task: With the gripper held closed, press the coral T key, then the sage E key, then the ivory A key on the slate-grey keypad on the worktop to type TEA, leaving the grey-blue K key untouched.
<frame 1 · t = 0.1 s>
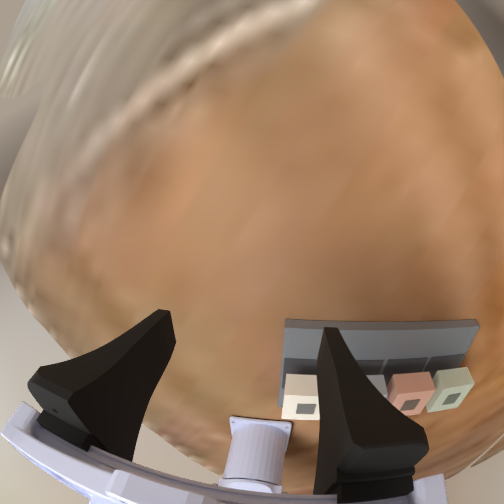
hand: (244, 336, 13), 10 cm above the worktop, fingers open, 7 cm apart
key E: (448, 390, 21), point 4 cm above the worktop, slide at 0.0 cm
keypad board: (377, 366, 26), on the worktop
key A: (306, 398, 23), point 4 cm above the worktop, slide at 0.0 cm
key K: (359, 398, 22), point 4 cm above the worktop, slide at 0.0 cm
key T: (407, 395, 21), point 4 cm above the worktop, slide at 0.0 cm
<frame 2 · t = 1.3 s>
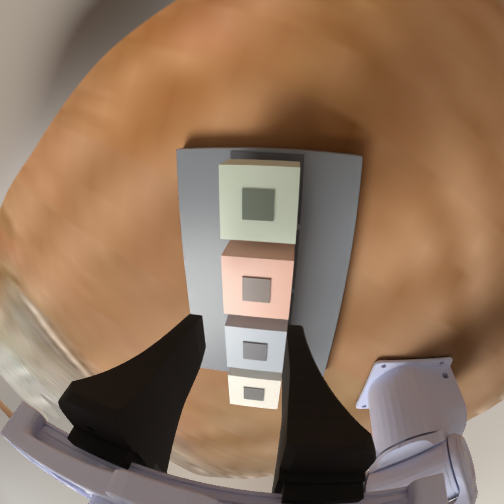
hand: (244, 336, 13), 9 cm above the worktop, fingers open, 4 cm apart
key E: (260, 199, 15), point 4 cm above the worktop, slide at 0.0 cm
keypad board: (264, 280, 22), on the worktop
key A: (255, 382, 22), point 4 cm above the worktop, slide at 0.0 cm
key K: (257, 339, 20), point 4 cm above the worktop, slide at 0.0 cm
key T: (258, 279, 17), point 4 cm above the worktop, slide at 0.0 cm
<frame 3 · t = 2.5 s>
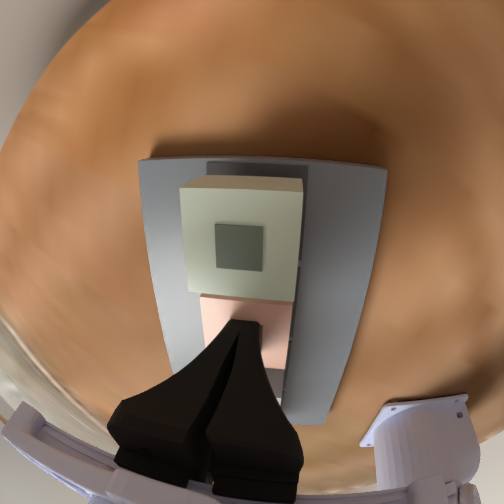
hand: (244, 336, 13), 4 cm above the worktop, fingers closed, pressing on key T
key E: (244, 234, 11), point 4 cm above the worktop, slide at 0.0 cm
keypad board: (256, 322, 18), on the worktop
key K: (245, 398, 15), point 4 cm above the worktop, slide at 0.0 cm
key T: (249, 321, 14), point 3 cm above the worktop, slide at 1.1 cm, touching gripper
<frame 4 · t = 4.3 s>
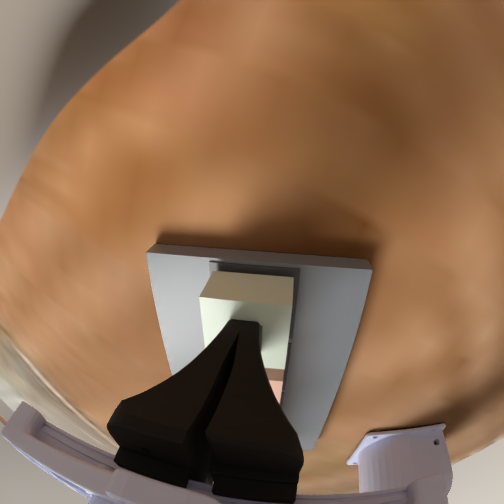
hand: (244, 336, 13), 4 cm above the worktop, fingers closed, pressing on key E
key E: (248, 321, 14), point 3 cm above the worktop, slide at 1.3 cm, touching gripper
keypad board: (254, 375, 20), on the worktop
key T: (248, 383, 16), point 3 cm above the worktop, slide at 1.3 cm
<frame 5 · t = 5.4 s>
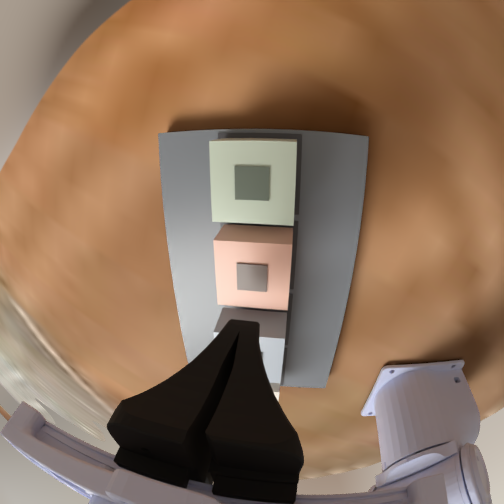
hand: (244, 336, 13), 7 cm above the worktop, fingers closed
key E: (255, 178, 14), point 3 cm above the worktop, slide at 1.3 cm
keypad board: (260, 279, 20), on the worktop
key A: (251, 393, 19), point 4 cm above the worktop, slide at 0.0 cm
key K: (251, 347, 17), point 4 cm above the worktop, slide at 0.0 cm
key T: (255, 267, 16), point 3 cm above the worktop, slide at 1.3 cm
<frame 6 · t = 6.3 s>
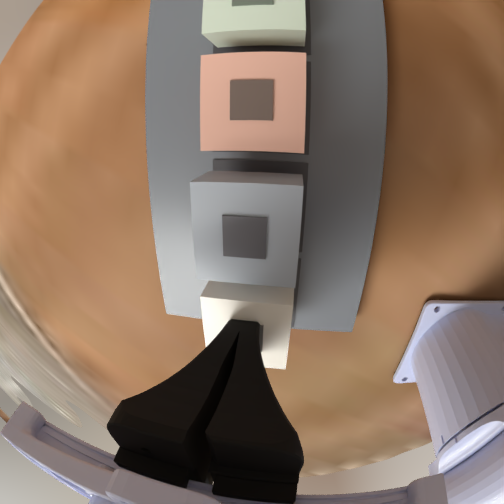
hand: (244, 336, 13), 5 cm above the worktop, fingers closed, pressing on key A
key E: (256, 0, 8), point 3 cm above the worktop, slide at 1.3 cm
keypad board: (262, 153, 14), on the worktop
key A: (249, 321, 14), point 4 cm above the worktop, slide at 0.2 cm, touching gripper
key K: (249, 226, 12), point 4 cm above the worktop, slide at 0.0 cm
key T: (255, 102, 11), point 3 cm above the worktop, slide at 1.3 cm
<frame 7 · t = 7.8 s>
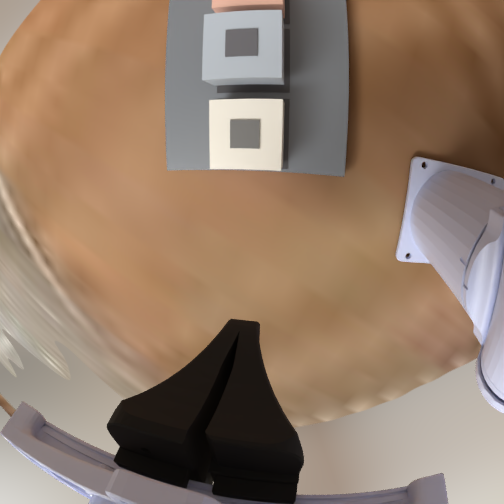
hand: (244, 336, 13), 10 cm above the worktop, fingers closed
keypad board: (256, 32, 15), on the worktop
key A: (248, 133, 16), point 3 cm above the worktop, slide at 1.3 cm
key K: (245, 48, 12), point 4 cm above the worktop, slide at 0.0 cm
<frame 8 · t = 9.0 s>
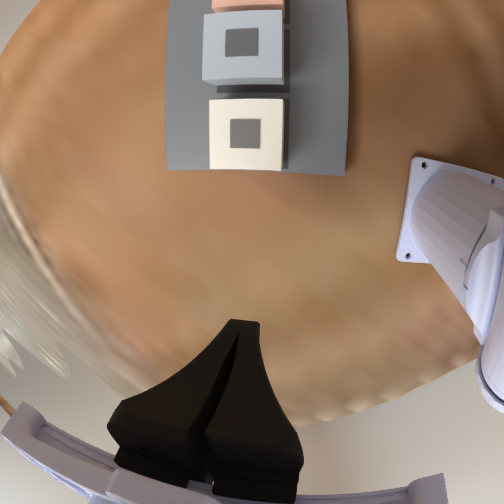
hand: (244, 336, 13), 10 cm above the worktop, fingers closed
keypad board: (256, 32, 15), on the worktop
key A: (248, 133, 16), point 3 cm above the worktop, slide at 1.3 cm
key K: (245, 48, 12), point 4 cm above the worktop, slide at 0.0 cm
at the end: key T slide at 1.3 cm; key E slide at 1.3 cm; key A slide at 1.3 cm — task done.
